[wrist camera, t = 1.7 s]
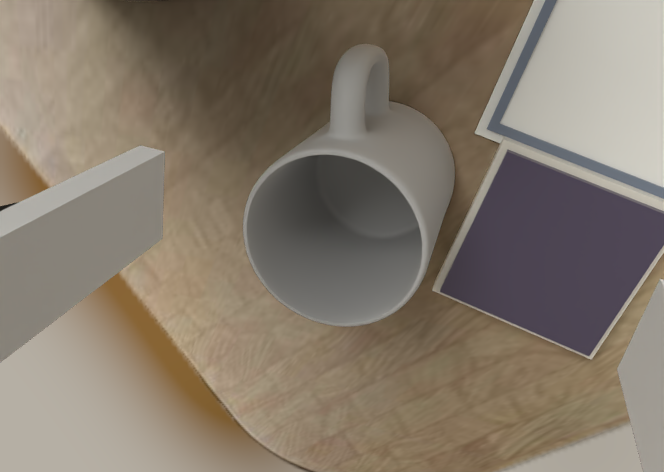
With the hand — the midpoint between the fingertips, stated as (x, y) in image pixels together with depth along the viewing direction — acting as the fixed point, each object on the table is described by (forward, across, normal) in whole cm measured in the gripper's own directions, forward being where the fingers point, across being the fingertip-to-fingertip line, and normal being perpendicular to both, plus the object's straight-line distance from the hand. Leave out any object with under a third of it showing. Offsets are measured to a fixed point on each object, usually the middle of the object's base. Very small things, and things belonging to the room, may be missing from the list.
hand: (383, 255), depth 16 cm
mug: (+19, -3, -3) cm, 20 cm away
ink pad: (+19, +7, -7) cm, 21 cm away
